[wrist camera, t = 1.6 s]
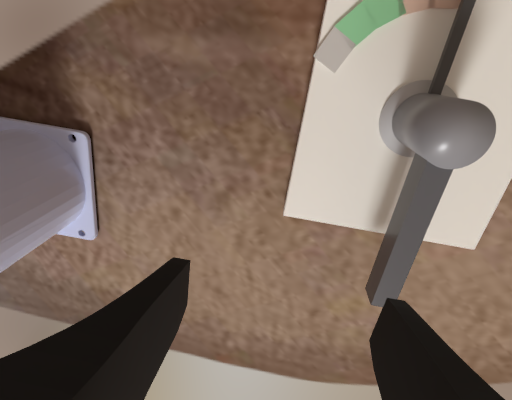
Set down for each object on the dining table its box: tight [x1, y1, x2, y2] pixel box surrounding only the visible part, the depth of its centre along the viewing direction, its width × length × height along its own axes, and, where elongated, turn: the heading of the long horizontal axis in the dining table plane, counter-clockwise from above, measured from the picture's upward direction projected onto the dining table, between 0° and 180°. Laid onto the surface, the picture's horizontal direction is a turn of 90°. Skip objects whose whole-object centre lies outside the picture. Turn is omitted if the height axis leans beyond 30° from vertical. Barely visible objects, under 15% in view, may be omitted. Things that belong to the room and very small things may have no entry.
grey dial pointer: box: [365, 0, 496, 307], centre depth 15 cm, size 16×3×4 cm, turn 172°
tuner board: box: [283, 0, 512, 250], centre depth 17 cm, size 12×14×1 cm
